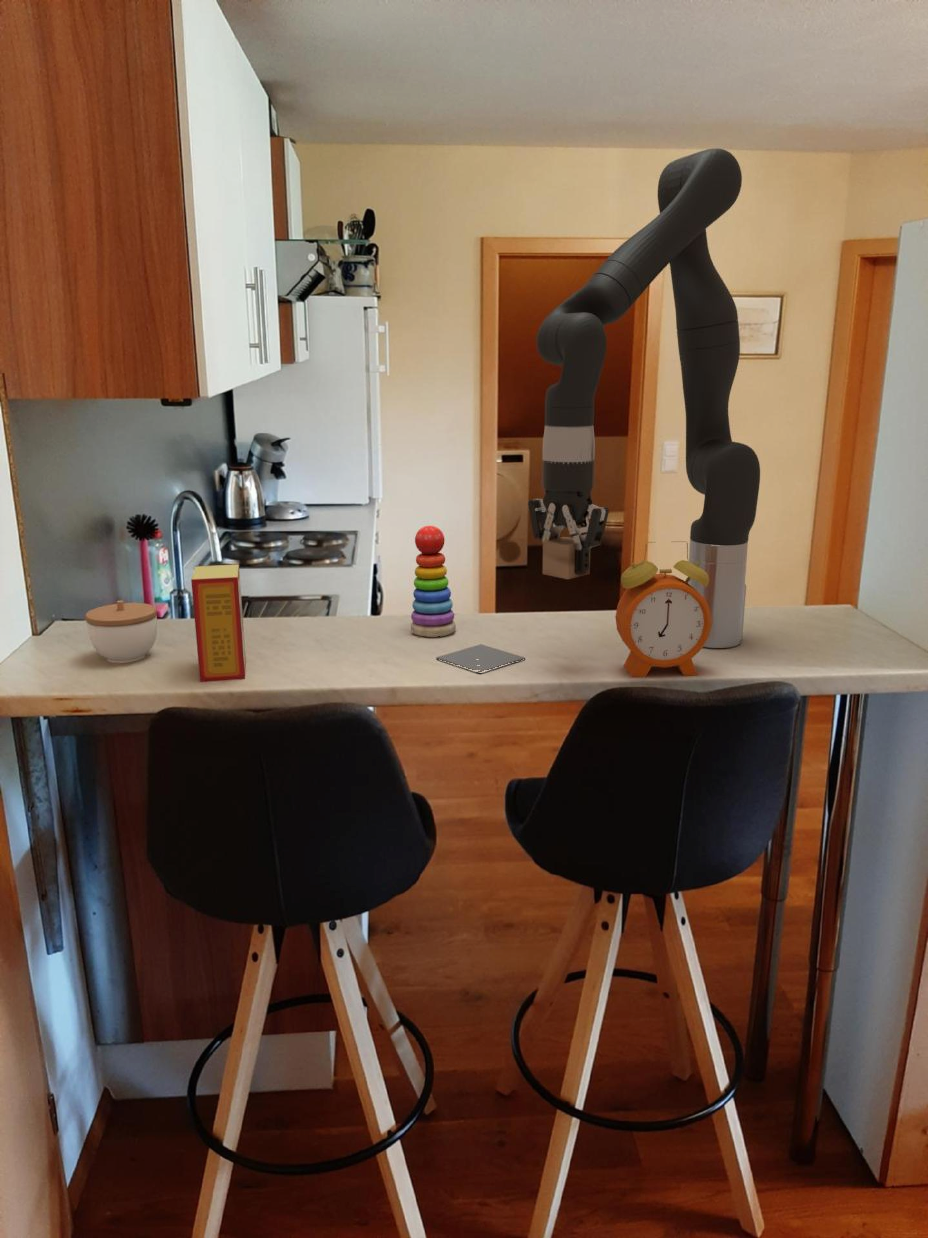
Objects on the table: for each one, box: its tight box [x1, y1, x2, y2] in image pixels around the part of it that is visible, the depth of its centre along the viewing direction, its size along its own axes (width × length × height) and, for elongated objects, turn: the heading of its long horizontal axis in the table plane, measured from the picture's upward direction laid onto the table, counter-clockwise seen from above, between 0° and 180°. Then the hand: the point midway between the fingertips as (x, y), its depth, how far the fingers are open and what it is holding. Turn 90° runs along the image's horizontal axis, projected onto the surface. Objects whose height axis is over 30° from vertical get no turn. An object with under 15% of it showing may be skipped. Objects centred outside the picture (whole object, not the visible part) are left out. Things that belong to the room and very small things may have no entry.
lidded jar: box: [84, 600, 158, 664], centre depth 150 cm, size 11×11×9 cm
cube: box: [542, 536, 591, 580], centre depth 140 cm, size 5×5×5 cm
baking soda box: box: [190, 563, 247, 683], centre depth 142 cm, size 10×6×16 cm
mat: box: [435, 643, 526, 672], centre depth 148 cm, size 10×10×1 cm
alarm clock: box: [614, 540, 711, 678], centre depth 140 cm, size 13×6×20 cm, turn 94°
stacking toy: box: [410, 525, 457, 638], centre depth 161 cm, size 8×8×19 cm
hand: (566, 570), depth 141 cm, fingers closed on cube, 5 cm apart
